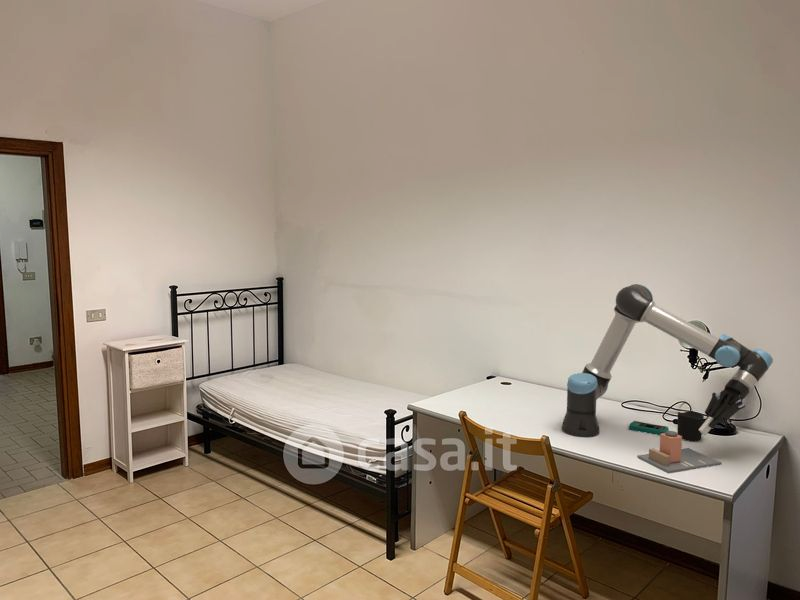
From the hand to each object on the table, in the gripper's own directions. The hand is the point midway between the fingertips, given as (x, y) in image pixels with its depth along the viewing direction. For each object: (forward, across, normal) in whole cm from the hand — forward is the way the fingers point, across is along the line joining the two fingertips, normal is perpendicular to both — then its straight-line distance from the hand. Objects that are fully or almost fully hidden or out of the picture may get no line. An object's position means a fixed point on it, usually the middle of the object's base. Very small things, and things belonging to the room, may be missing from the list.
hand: (702, 432), depth 212 cm
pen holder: (-2, +18, -17) cm, 25 cm away
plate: (+14, 0, 0) cm, 14 cm away
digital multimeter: (+5, +31, -10) cm, 33 cm away
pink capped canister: (+16, 0, +3) cm, 16 cm away
